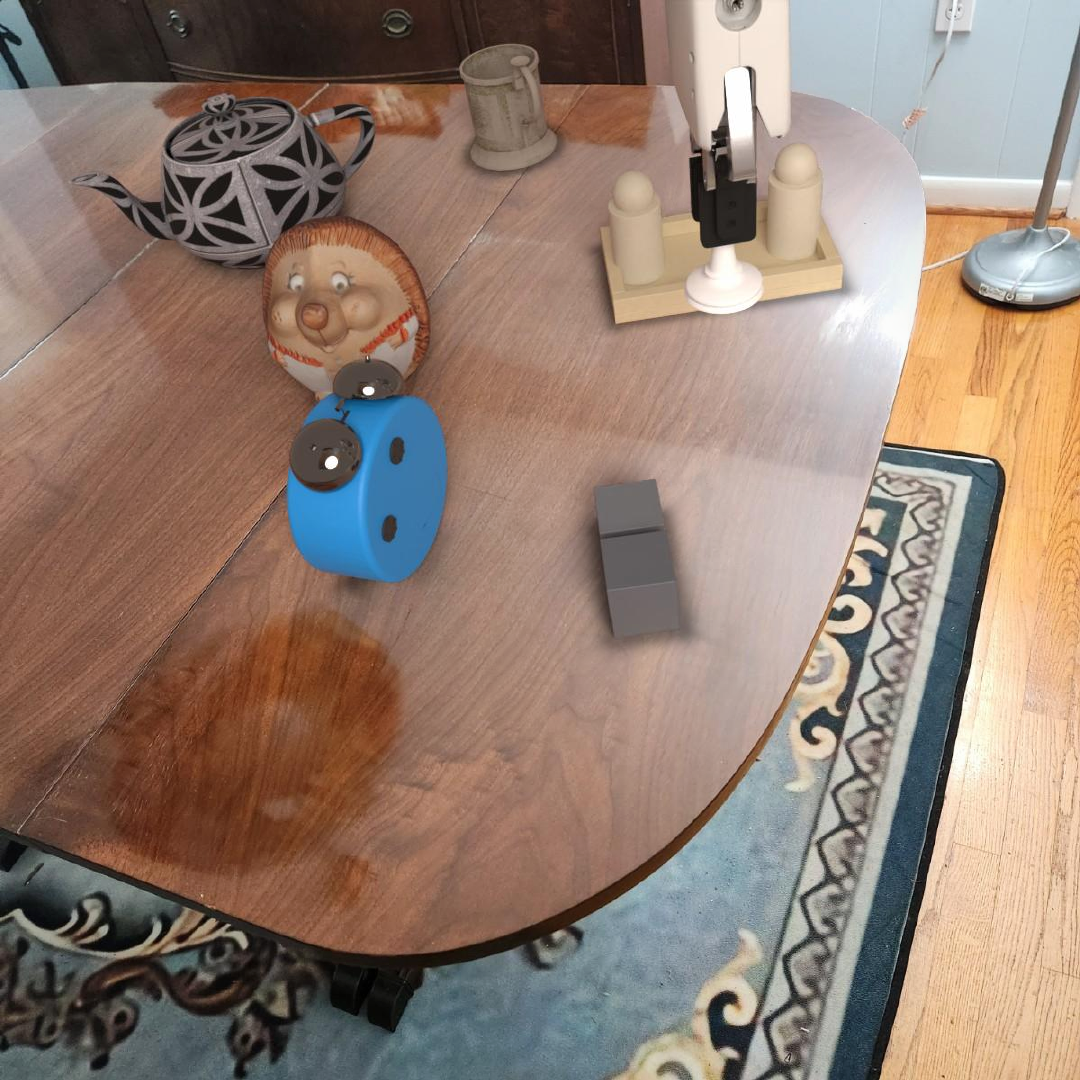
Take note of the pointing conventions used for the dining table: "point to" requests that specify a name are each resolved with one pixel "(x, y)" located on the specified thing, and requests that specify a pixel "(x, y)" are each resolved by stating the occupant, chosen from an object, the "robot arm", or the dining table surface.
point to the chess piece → (724, 280)
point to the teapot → (242, 177)
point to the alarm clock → (367, 477)
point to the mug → (506, 107)
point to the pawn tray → (675, 248)
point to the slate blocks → (636, 559)
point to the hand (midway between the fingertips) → (723, 226)
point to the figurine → (341, 301)
